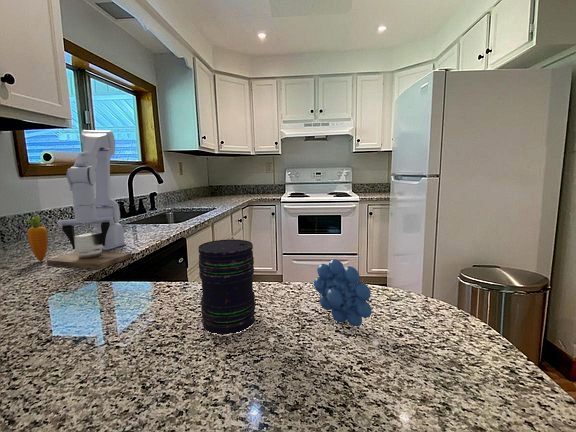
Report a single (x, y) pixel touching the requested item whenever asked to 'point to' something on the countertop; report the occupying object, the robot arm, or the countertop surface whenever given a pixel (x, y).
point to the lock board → (89, 260)
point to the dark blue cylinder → (227, 285)
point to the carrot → (37, 238)
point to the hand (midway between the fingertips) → (89, 246)
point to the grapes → (343, 292)
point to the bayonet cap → (88, 245)
